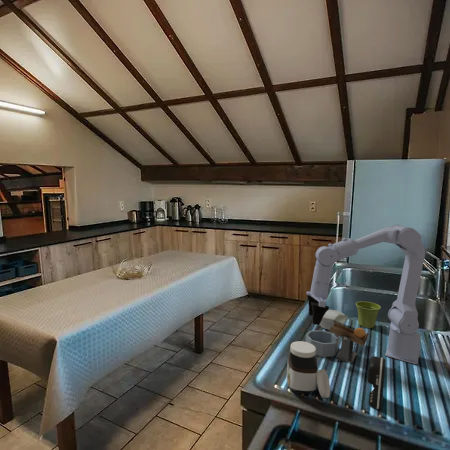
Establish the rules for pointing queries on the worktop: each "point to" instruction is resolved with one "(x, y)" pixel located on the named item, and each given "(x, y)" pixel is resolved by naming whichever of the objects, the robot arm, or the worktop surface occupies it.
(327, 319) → the ramekin
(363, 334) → the ball
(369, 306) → the plant pot
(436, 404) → the worktop surface
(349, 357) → the fulcrum
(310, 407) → the worktop surface
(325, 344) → the bowl
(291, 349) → the spread jar
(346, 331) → the lever
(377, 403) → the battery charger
